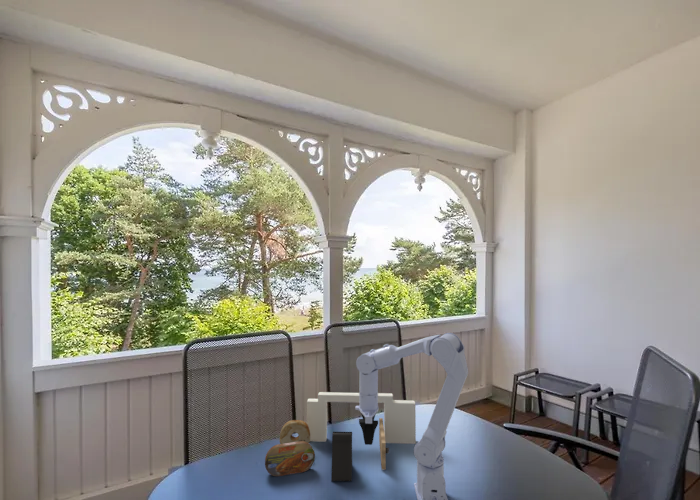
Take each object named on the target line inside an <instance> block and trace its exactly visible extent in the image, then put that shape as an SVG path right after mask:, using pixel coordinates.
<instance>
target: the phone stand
mask: <svg viewBox="0 0 700 500" xmlns="http://www.w3.org/2000/svg"><path fill="white" fill-rule="evenodd" d="M331 434H332V437H331V443H332V444H331V477H330V478H331V479H330V481H331V482H352V481H353V479H352V478H353V431H332V433H331Z"/></svg>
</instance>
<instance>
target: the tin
mask: <svg viewBox="0 0 700 500" xmlns="http://www.w3.org/2000/svg"><path fill="white" fill-rule="evenodd" d="M315 460H316V454H315V449H314V448H313V446H312V445H311V444H310V442H309V443H307V442H305V441H298V442H291V443H284V444H280V443H278V444H275V445H273V446H272V447H270V448H269V449H268V450H267V452H266V454H265V459H264V467H265V470H266V471H267V473H268V474H269V475H271V476H273V477H283V476H288V475H294V474H295V475H296V474H301V473H304V472H307V471H309V470H310V469H311V468H312V466H313V465H314V462H315Z"/></svg>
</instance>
